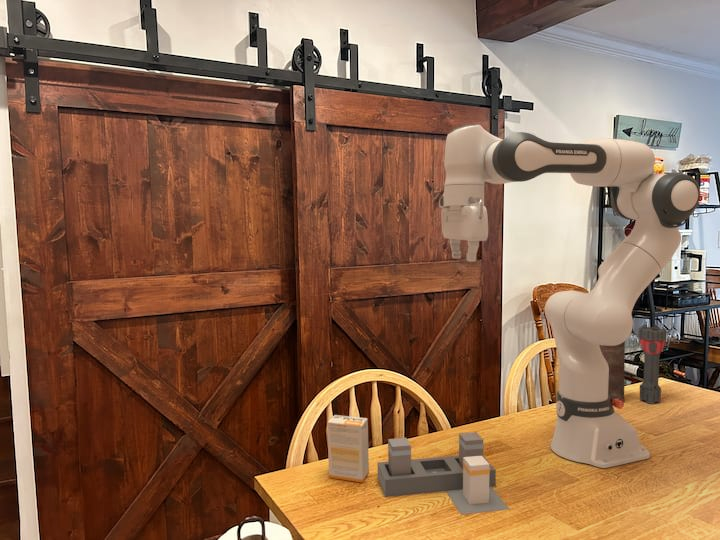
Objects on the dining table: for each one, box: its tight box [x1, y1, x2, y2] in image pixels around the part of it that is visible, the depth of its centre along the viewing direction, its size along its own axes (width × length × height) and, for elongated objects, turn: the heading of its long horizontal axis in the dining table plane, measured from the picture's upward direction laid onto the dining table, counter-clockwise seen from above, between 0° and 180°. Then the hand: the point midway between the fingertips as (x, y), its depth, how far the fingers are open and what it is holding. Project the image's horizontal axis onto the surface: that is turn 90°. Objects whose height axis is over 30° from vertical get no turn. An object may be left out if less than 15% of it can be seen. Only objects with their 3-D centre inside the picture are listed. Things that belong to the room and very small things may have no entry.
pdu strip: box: [377, 454, 497, 498], centre depth 114 cm, size 24×8×4 cm, turn 99°
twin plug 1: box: [387, 437, 412, 476], centre depth 113 cm, size 4×4×8 cm
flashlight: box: [637, 325, 667, 405], centre depth 165 cm, size 8×8×23 cm
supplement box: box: [326, 414, 370, 484], centre depth 118 cm, size 8×5×13 cm, turn 71°
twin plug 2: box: [458, 431, 485, 469], centre depth 115 cm, size 4×4×8 cm
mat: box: [445, 487, 510, 515], centre depth 107 cm, size 10×10×1 cm
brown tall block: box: [599, 340, 626, 403], centre depth 165 cm, size 8×7×20 cm
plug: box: [463, 456, 490, 505], centre depth 107 cm, size 4×4×8 cm
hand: (463, 259), depth 120 cm, fingers open, 8 cm apart
